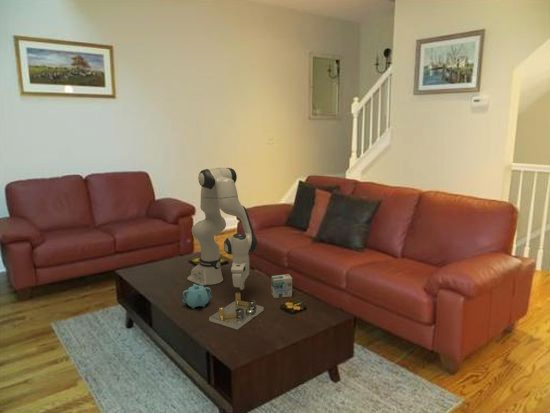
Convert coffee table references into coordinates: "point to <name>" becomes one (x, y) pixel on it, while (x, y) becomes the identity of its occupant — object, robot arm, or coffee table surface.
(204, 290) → the teapot
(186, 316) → the coffee table surface
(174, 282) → the coffee table surface
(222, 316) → the knob
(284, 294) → the light bulb box
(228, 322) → the plate
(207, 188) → the robot arm
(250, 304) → the knob
